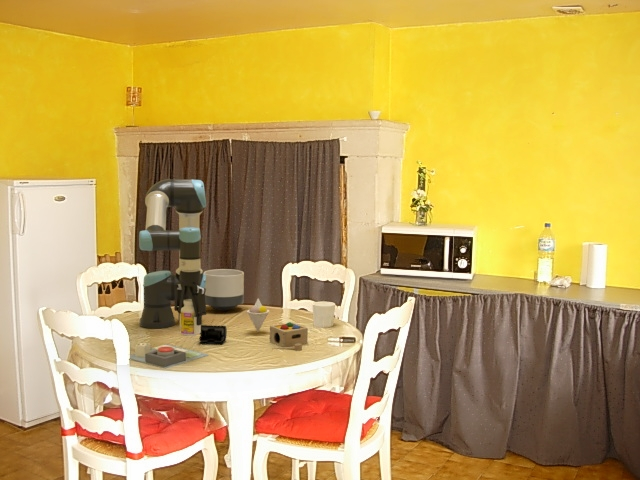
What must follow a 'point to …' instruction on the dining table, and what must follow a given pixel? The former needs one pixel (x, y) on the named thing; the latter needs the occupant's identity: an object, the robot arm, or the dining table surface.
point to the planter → (224, 288)
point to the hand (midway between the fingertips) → (190, 331)
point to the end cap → (213, 335)
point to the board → (189, 353)
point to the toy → (258, 314)
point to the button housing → (165, 358)
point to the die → (142, 349)
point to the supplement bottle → (187, 318)
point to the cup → (323, 314)
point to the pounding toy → (288, 336)
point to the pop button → (165, 351)
